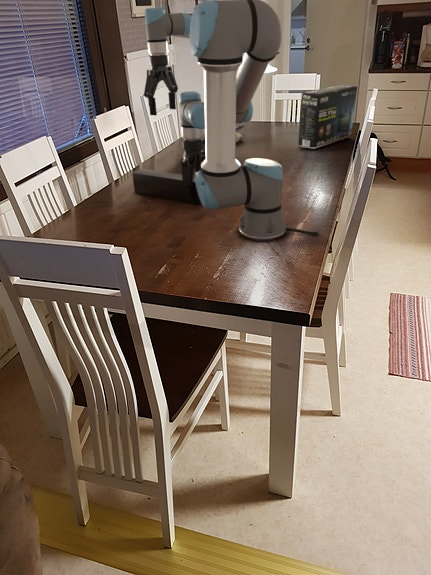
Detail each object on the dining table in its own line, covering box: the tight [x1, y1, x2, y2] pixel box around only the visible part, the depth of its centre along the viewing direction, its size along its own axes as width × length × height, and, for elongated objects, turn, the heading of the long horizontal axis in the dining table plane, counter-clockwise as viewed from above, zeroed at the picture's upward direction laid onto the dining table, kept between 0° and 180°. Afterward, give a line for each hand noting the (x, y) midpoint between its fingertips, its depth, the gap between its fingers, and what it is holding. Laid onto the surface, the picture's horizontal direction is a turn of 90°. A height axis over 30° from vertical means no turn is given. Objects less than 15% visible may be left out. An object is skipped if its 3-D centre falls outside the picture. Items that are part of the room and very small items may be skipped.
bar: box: [131, 168, 202, 205], centre depth 180 cm, size 31×6×8 cm, turn 60°
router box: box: [297, 84, 358, 151], centre depth 238 cm, size 36×11×27 cm, turn 134°
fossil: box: [236, 129, 246, 143], centre depth 254 cm, size 18×11×15 cm
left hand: (163, 112), depth 189 cm, fingers open, 13 cm apart
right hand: (196, 199), depth 177 cm, fingers closed on bar, 6 cm apart
